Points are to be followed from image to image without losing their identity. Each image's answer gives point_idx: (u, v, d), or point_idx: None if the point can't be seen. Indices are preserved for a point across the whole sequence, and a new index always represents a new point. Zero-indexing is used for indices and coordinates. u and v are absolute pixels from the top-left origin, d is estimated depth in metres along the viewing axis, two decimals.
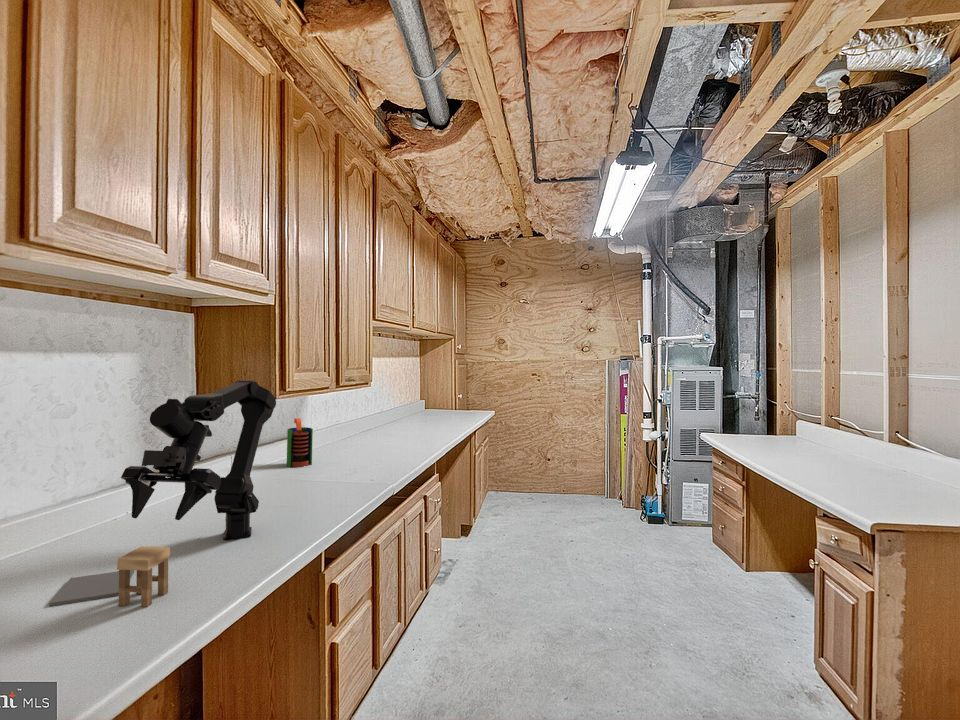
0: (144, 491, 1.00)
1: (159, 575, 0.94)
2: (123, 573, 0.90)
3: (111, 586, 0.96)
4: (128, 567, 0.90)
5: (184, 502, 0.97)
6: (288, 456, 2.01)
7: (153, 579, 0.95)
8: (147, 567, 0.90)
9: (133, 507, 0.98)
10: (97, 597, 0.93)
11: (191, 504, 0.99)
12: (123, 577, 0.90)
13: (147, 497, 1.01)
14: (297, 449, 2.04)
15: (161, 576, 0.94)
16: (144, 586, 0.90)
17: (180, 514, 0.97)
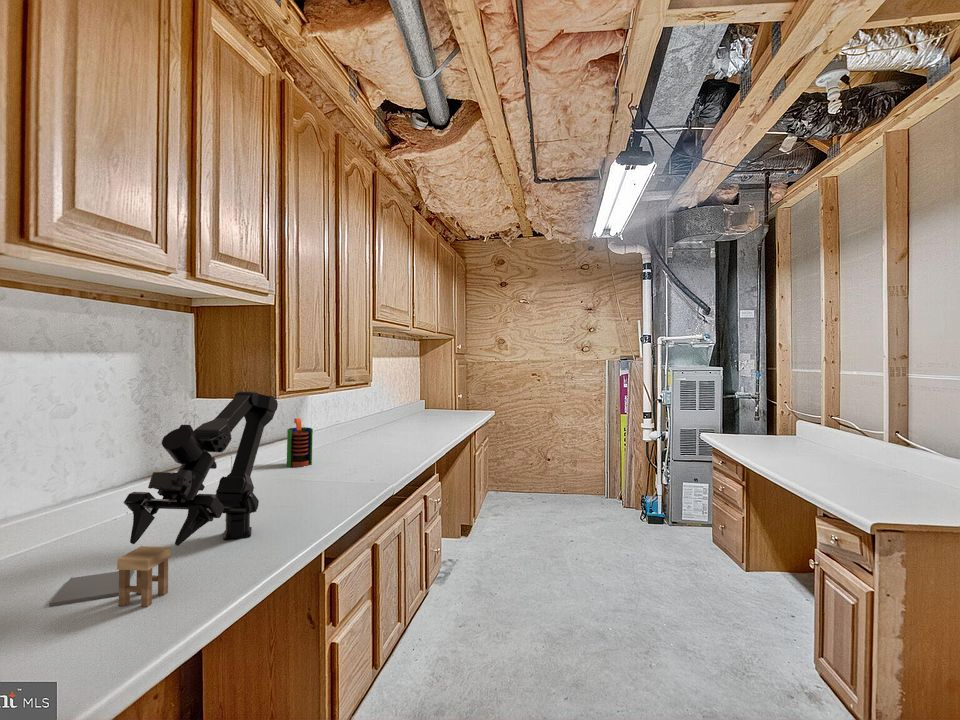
0: (145, 517, 1.00)
1: (159, 575, 0.94)
2: (123, 573, 0.90)
3: (111, 586, 0.96)
4: (128, 567, 0.90)
5: (186, 527, 0.97)
6: (288, 456, 2.01)
7: (153, 579, 0.95)
8: (147, 567, 0.90)
9: (132, 532, 0.96)
10: (97, 597, 0.93)
11: (192, 531, 0.98)
12: (123, 577, 0.90)
13: (147, 524, 1.00)
14: (297, 449, 2.04)
15: (161, 576, 0.94)
16: (144, 586, 0.90)
17: (180, 540, 0.96)
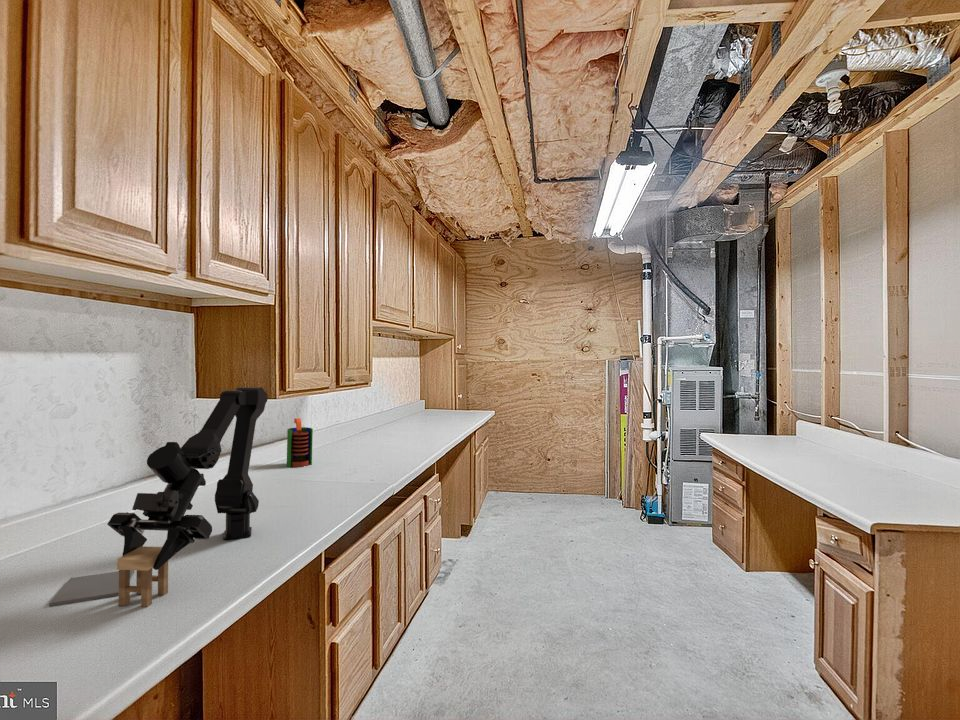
0: (136, 540, 0.96)
1: (159, 575, 0.94)
2: (123, 573, 0.90)
3: (111, 586, 0.96)
4: (128, 567, 0.90)
5: (165, 550, 0.93)
6: (288, 456, 2.01)
7: (153, 579, 0.95)
8: (147, 567, 0.90)
9: None
10: (97, 597, 0.93)
11: (172, 553, 0.94)
12: (123, 577, 0.90)
13: None
14: (297, 449, 2.04)
15: (161, 576, 0.94)
16: (144, 586, 0.90)
17: (159, 563, 0.92)
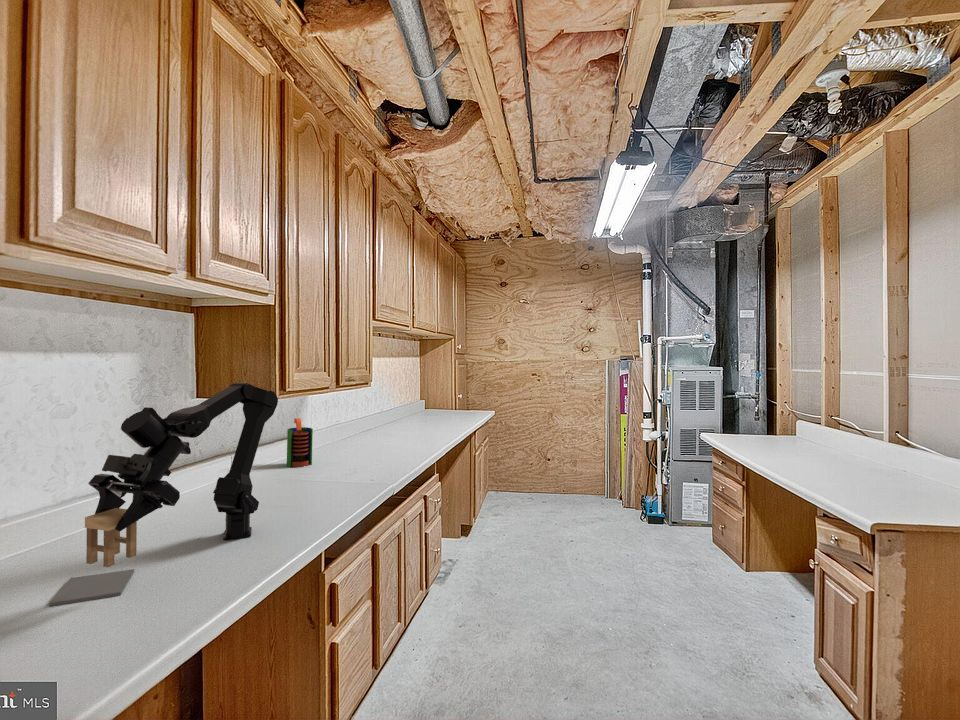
0: (112, 501, 0.98)
1: (127, 537, 0.95)
2: (90, 532, 0.92)
3: (111, 586, 0.96)
4: (93, 526, 0.92)
5: (128, 512, 0.93)
6: (288, 456, 2.01)
7: (123, 541, 0.96)
8: (107, 527, 0.91)
9: None
10: (97, 597, 0.93)
11: (137, 517, 0.95)
12: (89, 536, 0.92)
13: None
14: (297, 449, 2.04)
15: (128, 538, 0.95)
16: (106, 546, 0.91)
17: (121, 525, 0.93)
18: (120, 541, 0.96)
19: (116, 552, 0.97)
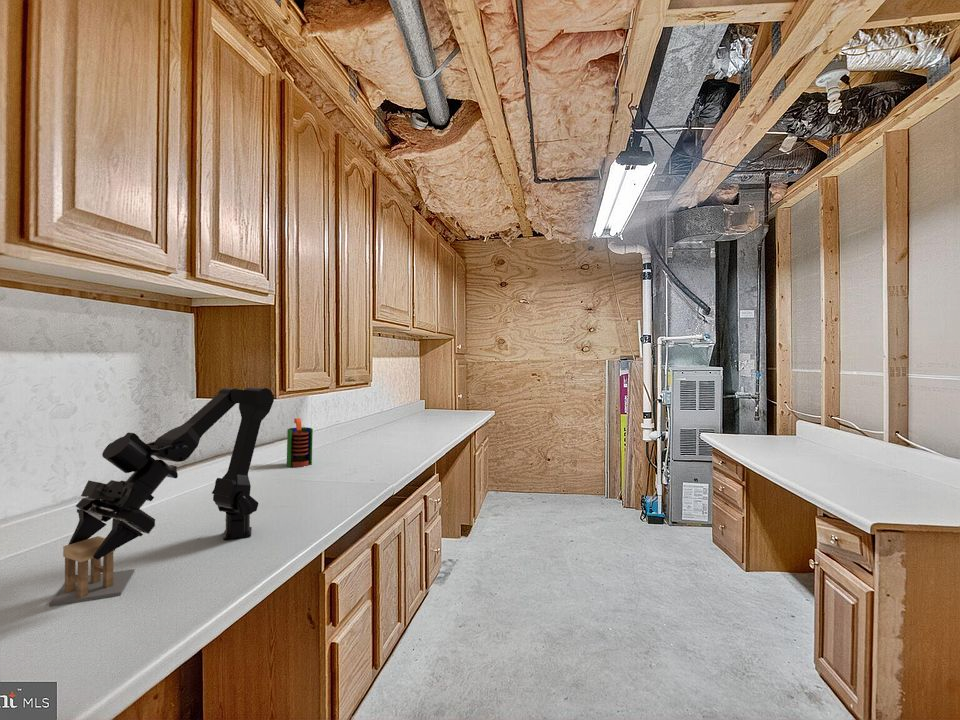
0: (90, 524, 1.00)
1: (104, 567, 0.96)
2: (67, 561, 0.94)
3: (111, 586, 0.96)
4: (69, 556, 0.93)
5: (106, 541, 0.93)
6: (288, 456, 2.01)
7: (101, 570, 0.97)
8: (80, 559, 0.92)
9: (71, 538, 0.97)
10: (97, 597, 0.93)
11: (116, 545, 0.94)
12: (67, 565, 0.94)
13: (93, 531, 1.00)
14: (297, 449, 2.04)
15: (105, 568, 0.96)
16: (79, 577, 0.92)
17: (99, 553, 0.93)
18: (99, 570, 0.97)
19: (96, 580, 0.98)
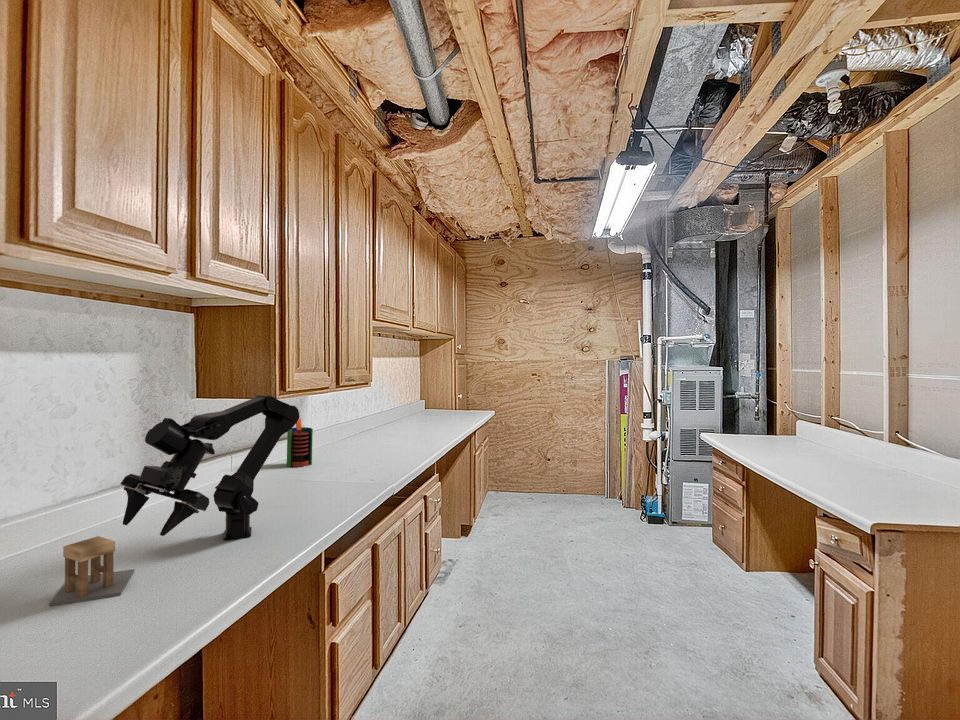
0: (138, 500, 1.08)
1: (104, 567, 0.96)
2: (67, 561, 0.94)
3: (111, 586, 0.96)
4: (69, 556, 0.93)
5: (171, 520, 1.04)
6: (288, 456, 2.01)
7: (101, 570, 0.97)
8: (80, 559, 0.92)
9: (125, 515, 1.05)
10: (97, 597, 0.93)
11: (177, 522, 1.06)
12: (67, 565, 0.94)
13: (140, 505, 1.08)
14: (297, 449, 2.04)
15: (105, 568, 0.96)
16: (79, 577, 0.92)
17: (165, 531, 1.04)
18: (99, 570, 0.97)
19: (96, 580, 0.98)
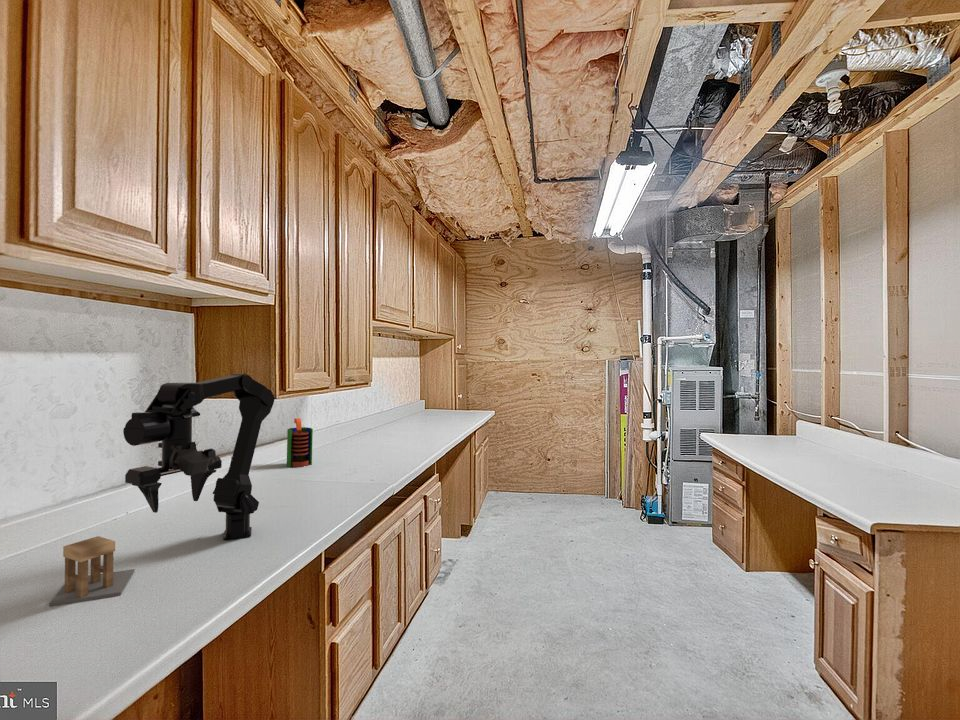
0: None
1: (104, 567, 0.96)
2: (67, 561, 0.94)
3: (111, 586, 0.96)
4: (69, 556, 0.93)
5: (202, 487, 1.13)
6: (288, 456, 2.01)
7: (101, 570, 0.97)
8: (80, 559, 0.92)
9: (156, 505, 1.04)
10: (97, 597, 0.93)
11: None
12: (67, 565, 0.94)
13: None
14: (297, 449, 2.04)
15: (105, 568, 0.96)
16: (79, 577, 0.92)
17: None
18: (99, 570, 0.97)
19: (96, 580, 0.98)
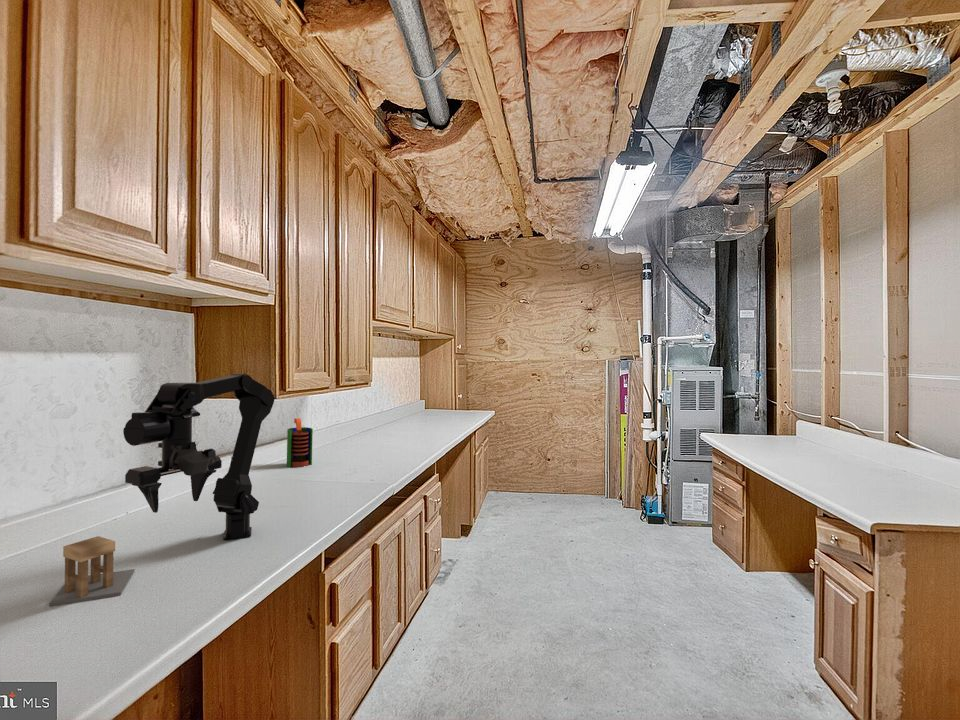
0: None
1: (104, 567, 0.96)
2: (67, 561, 0.94)
3: (111, 586, 0.96)
4: (69, 556, 0.93)
5: (202, 487, 1.13)
6: (288, 456, 2.01)
7: (101, 570, 0.97)
8: (80, 559, 0.92)
9: (156, 505, 1.04)
10: (97, 597, 0.93)
11: None
12: (67, 565, 0.94)
13: None
14: (297, 449, 2.04)
15: (105, 568, 0.96)
16: (79, 577, 0.92)
17: None
18: (99, 570, 0.97)
19: (96, 580, 0.98)
